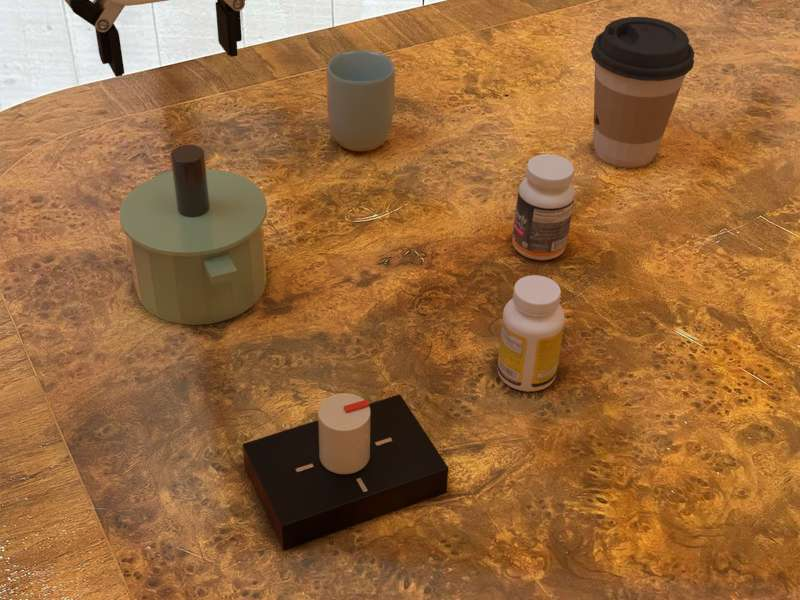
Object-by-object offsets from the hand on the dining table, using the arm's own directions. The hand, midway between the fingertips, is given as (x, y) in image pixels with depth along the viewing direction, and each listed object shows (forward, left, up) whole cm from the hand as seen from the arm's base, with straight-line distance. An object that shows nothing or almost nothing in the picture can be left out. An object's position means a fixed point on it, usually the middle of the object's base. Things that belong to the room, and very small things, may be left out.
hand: (173, 59), depth 90 cm
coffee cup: (+53, +4, -25) cm, 59 cm away
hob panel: (+3, -29, -24) cm, 38 cm away
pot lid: (0, 0, -16) cm, 16 cm away
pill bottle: (+34, -8, -25) cm, 43 cm away
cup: (+25, +18, -25) cm, 40 cm away
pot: (0, 0, -24) cm, 24 cm away
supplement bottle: (+23, -24, -25) cm, 41 cm away
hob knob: (+3, -29, -21) cm, 36 cm away
